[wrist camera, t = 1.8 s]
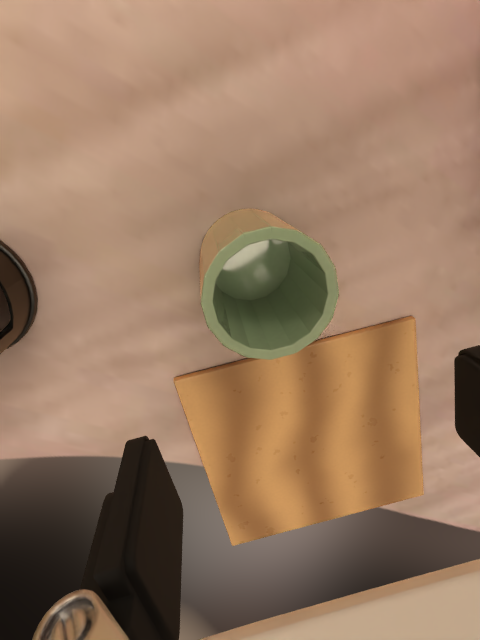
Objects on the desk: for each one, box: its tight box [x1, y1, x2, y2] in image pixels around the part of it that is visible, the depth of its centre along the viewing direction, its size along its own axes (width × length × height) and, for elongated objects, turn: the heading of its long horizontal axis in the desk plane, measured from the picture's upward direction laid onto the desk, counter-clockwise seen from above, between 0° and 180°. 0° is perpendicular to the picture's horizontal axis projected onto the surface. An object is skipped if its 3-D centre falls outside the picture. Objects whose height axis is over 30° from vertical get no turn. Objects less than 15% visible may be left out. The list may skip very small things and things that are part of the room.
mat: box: [174, 316, 423, 546], centre depth 34 cm, size 20×20×1 cm
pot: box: [199, 208, 339, 360], centre depth 23 cm, size 7×7×9 cm
